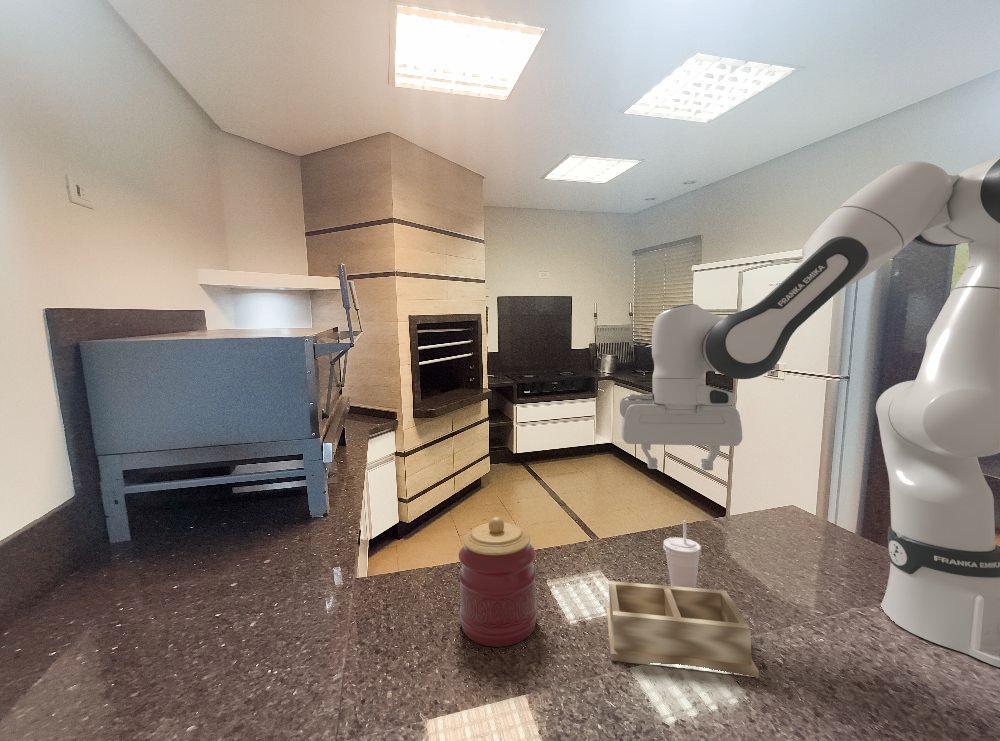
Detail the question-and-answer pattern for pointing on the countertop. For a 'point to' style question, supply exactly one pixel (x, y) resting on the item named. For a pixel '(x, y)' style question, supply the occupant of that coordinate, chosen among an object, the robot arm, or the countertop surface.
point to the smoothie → (682, 560)
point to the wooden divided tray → (678, 627)
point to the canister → (497, 584)
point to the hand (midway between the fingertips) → (679, 468)
